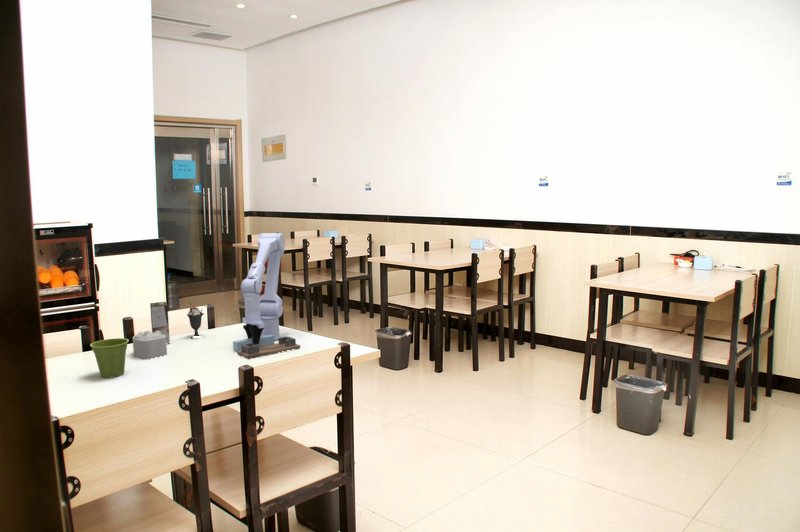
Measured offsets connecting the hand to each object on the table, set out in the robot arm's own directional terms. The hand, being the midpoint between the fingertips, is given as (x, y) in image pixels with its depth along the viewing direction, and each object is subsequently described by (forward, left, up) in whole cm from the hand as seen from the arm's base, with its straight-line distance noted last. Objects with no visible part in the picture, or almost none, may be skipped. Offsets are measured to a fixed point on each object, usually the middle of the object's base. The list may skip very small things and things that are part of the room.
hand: (254, 343), depth 238 cm
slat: (0, 0, -2) cm, 2 cm away
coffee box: (-35, -24, -2) cm, 42 cm away
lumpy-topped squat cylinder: (-19, -34, -2) cm, 39 cm away
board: (+8, +2, -2) cm, 9 cm away
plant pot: (-1, -52, -2) cm, 52 cm away
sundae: (-33, -10, -2) cm, 35 cm away
